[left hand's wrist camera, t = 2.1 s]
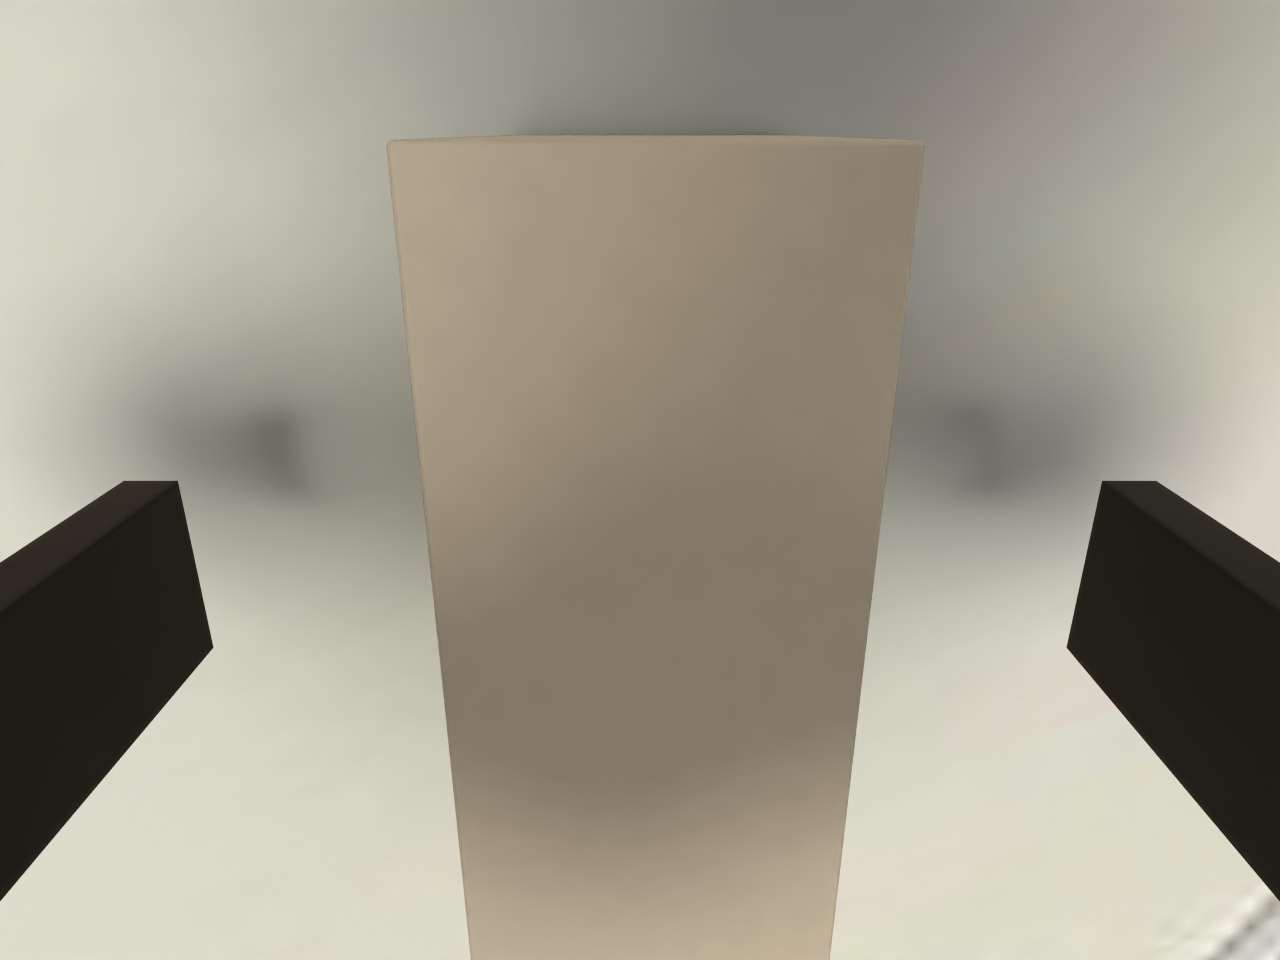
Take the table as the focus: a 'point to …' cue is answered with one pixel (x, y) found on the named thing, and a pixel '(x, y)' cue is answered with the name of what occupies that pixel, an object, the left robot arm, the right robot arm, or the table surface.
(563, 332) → the beam
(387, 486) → the table surface
